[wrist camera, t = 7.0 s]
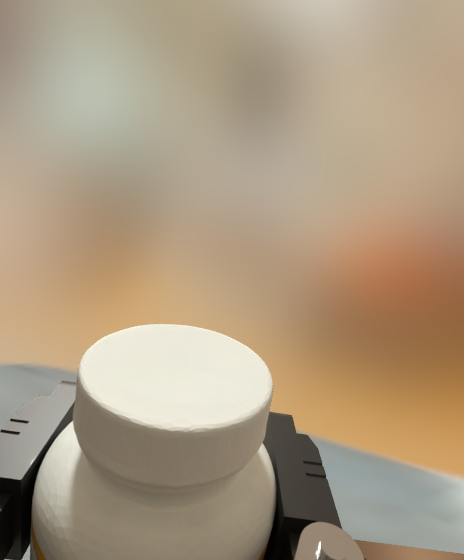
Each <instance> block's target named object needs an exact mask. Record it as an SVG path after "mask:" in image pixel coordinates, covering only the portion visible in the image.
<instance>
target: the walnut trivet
mask: <svg viewBox="0 0 464 560" xmlns="http://www.w3.org/2000/svg"><path fill="white" fill-rule="evenodd" d="M354 541H355V542H356V543H357V545H358V546H359V548H360V550H361V552H362V555H363V557H364V558H365V559H367V560H464V554H460V553H452V552H445V551H437V550H429V549H421V548H414V547H406V546H398V545H391V544H383V543H375V542H367V541H360V540H354Z"/></svg>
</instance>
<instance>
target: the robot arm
mask: <svg viewBox="0 0 464 560" xmlns="http://www.w3.org/2000/svg"><path fill="white" fill-rule="evenodd" d="M76 385H77V383H75V382H68V381H62V382H61V383H60V384H59V385H58V386H57V387H56V389H55V390H54V391H53V392H52V394H51V395H50V396H49V397H47V396H40V395H39V396H38V397H36V398H34V399H32V400H31V401H29V402H27V403H26V404H24V405H22V406H21V407H20V409H19V410H18V411H17V412H16V413H15V414H14V415H13V416H12V418H11V420H10V421H8V422H7V423H6V424H5V426H4V427H3V428H2V429H1V431H0V560H4V559H11V560H21V559H22V558H23V556H24V554H25V552H26V550H27V548H28V546H29V545H30V536H31V515H32V499H33V493H34V487H35V482H36V478H37V475H38V472H39V469H40V466H41V464H42V462H43V459H44V457H45V455H46V453H47V452H48V450H49V448H50V447H51V445H52V444H53V442H54V441H55V439H56V438H57V437H58V436H59V434H60V433H61V432H62V431H63V430H64V429H65V428H66V427H67V426H68V425H69V424H70V423H71V422H72V421H73V411H74V405H75V396H76ZM262 443H263V445H264V446H265V448H266V450H267V452H268V455H269V457H270V460H271V463H272V466H273V470H274V474H275V480H276V492H277V502H276V511H275V517H274V522H273V527H272V530H271V534H270V538H269V541H268V545H267V549H266V552H265V556H264V559H263V560H367V559H365V558H364V557H363V555H362V552H361V550H360V548H359V546H358V545H357V543H356V542H355V541H354V540H353V539H352V537H351V536H350V535H348V534H347V533H346V532H345V531H344V530H342V527H341V524H340V520H339V517H338V514H337V510H336V507H335V504H334V500H333V497H332V494H331V490H330V487H329V484H328V480H327V479H326V474H325V470H324V467H323V466H322V460H321V457H320V454H319V450H318V448H317V447H316V445H315V444H314V443H313V442H312V440H311V439H310V438H309V436H308V435H304V434H297V433H296V430H295V426H294V421H293V417H292V415H288V414H280V413H274V412H269V415H268V420H267V426H266V434H265V438H264V440H263V442H262Z"/></svg>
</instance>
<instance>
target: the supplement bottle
mask: <svg viewBox="0 0 464 560" xmlns="http://www.w3.org/2000/svg"><path fill="white" fill-rule="evenodd" d="M272 395H273V382H272V377H271V375H270V371H269V370H268V367H267V366H266V364H265V363H264V362H263V360H262V359H261V358H260V357H259V356H258V355H257V354H256V353H255V352H253V351H252V350H251V349H250V348H248V347H247V346H245V345H243V344H241V343H240V342H238V341H236V340H234V339H232V338H230V337H228V336H226V335H223V334H220V333H217V332H215V331H211V330H207V329H203V328H198V327H193V326H185V325H170V324H152V325H143V326H136V327H132V328H128V329H124V330H121V331H118V332H115V333H112V334H110V335H108V336H105V337H104V338H102V339H100V340H99V341H97V342H96V343H95V344H94V345H92V346H91V347H90V348H89V349H88V350H87V351H86V353H85V354H84V356H83V357H82V360H81V362H80V364H79V368H78V374H77V385H76V396H75V405H74V411H73V421H72V422H71V423H70V424H69V425H68V426H67V427H66V428H65V429H64V430H63V431H62V432H61V433H60V434H59V436H58V437H57V438H56V439H55V441H54V442H53V444H52V445H51V447H50V448H49V450H48V452H47V453H46V455H45V457H44V459H43V462H42V464H41V466H40V469H39V472H38V475H37V478H36V482H35V487H34V493H33V499H32V515H31V536H30V560H263V559H264V556H265V552H266V549H267V545H268V541H269V538H270V534H271V530H272V527H273V522H274V517H275V511H276V502H277V492H276V480H275V474H274V470H273V466H272V463H271V460H270V457H269V455H268V452H267V450H266V448H265V446H264V445H263V443H262V442H263V440H264V438H265V434H266V426H267V420H268V415H269V410H270V406H271V401H272Z"/></svg>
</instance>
